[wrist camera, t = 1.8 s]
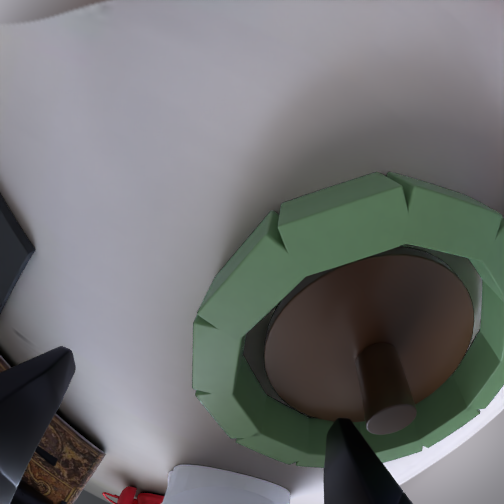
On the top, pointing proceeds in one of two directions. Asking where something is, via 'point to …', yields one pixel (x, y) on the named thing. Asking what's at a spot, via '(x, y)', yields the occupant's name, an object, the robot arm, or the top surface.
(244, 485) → the figurine
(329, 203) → the ring
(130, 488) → the alarm clock
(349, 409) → the ring stand
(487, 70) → the top surface
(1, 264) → the mat
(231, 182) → the top surface
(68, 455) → the book
